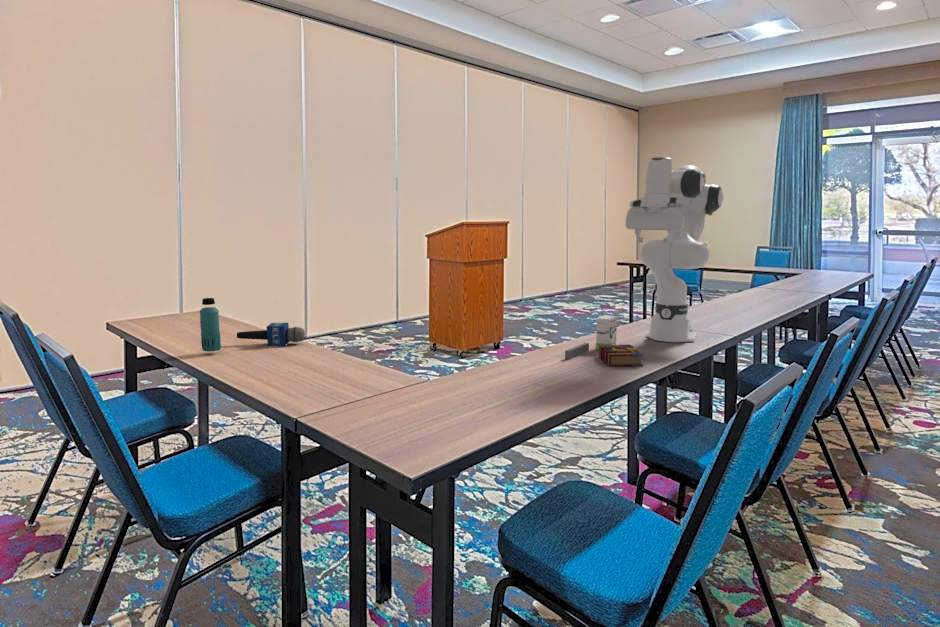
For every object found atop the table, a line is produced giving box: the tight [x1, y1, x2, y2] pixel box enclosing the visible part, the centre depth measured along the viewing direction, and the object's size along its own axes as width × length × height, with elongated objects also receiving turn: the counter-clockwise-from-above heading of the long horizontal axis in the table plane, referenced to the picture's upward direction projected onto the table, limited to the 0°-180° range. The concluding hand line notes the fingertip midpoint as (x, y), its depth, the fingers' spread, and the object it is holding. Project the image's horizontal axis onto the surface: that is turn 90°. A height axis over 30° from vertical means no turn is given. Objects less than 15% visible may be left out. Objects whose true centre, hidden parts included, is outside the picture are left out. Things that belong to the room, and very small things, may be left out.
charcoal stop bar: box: [564, 342, 590, 360], centre depth 220 cm, size 16×2×3 cm, turn 145°
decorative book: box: [598, 344, 644, 367], centre depth 211 cm, size 11×16×5 cm
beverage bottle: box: [199, 297, 222, 353], centre depth 221 cm, size 6×7×20 cm
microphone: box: [236, 322, 306, 347], centre depth 238 cm, size 8×8×25 cm
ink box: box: [595, 314, 618, 351], centre depth 231 cm, size 9×5×12 cm, turn 147°
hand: (652, 242), depth 221 cm, fingers open, 8 cm apart
